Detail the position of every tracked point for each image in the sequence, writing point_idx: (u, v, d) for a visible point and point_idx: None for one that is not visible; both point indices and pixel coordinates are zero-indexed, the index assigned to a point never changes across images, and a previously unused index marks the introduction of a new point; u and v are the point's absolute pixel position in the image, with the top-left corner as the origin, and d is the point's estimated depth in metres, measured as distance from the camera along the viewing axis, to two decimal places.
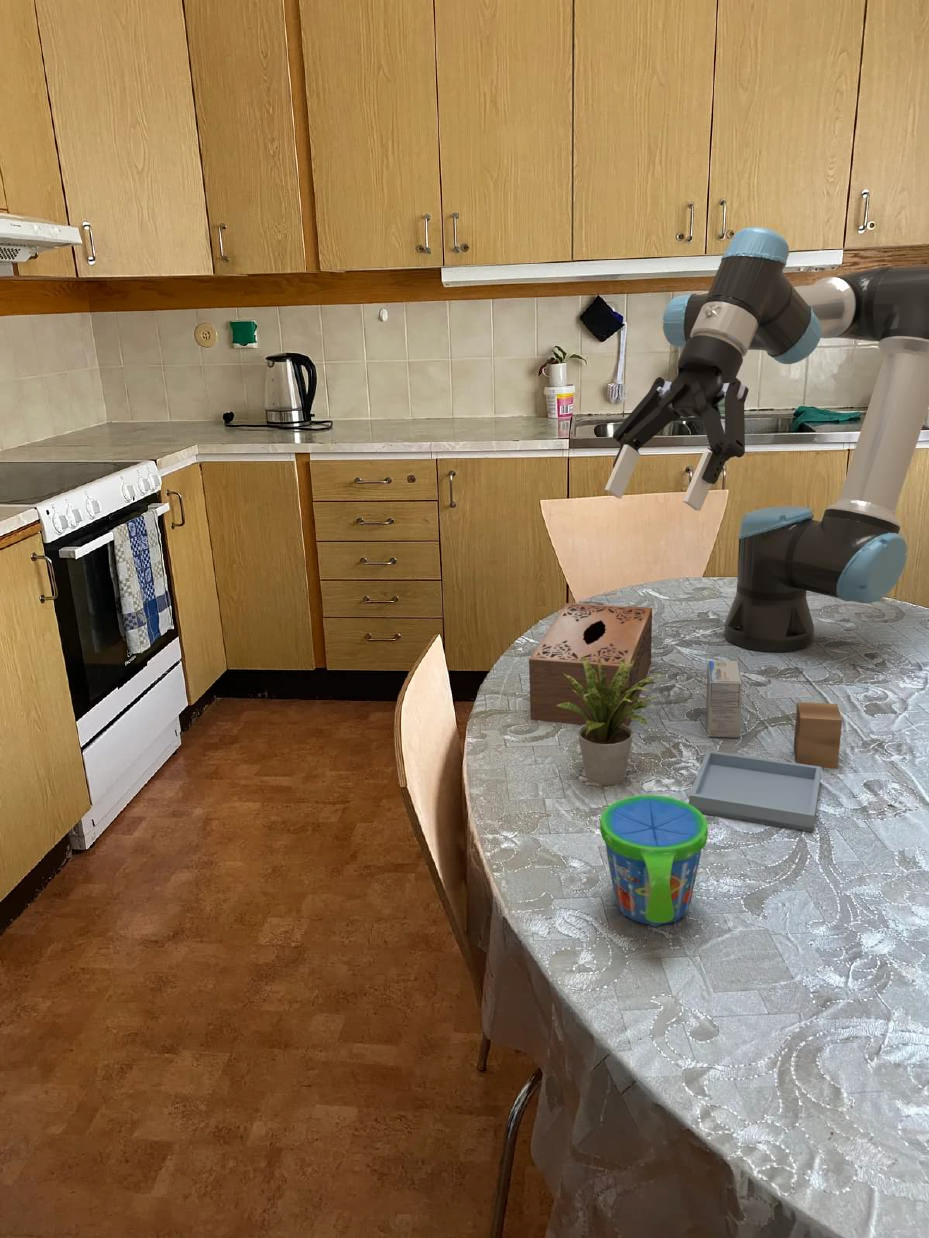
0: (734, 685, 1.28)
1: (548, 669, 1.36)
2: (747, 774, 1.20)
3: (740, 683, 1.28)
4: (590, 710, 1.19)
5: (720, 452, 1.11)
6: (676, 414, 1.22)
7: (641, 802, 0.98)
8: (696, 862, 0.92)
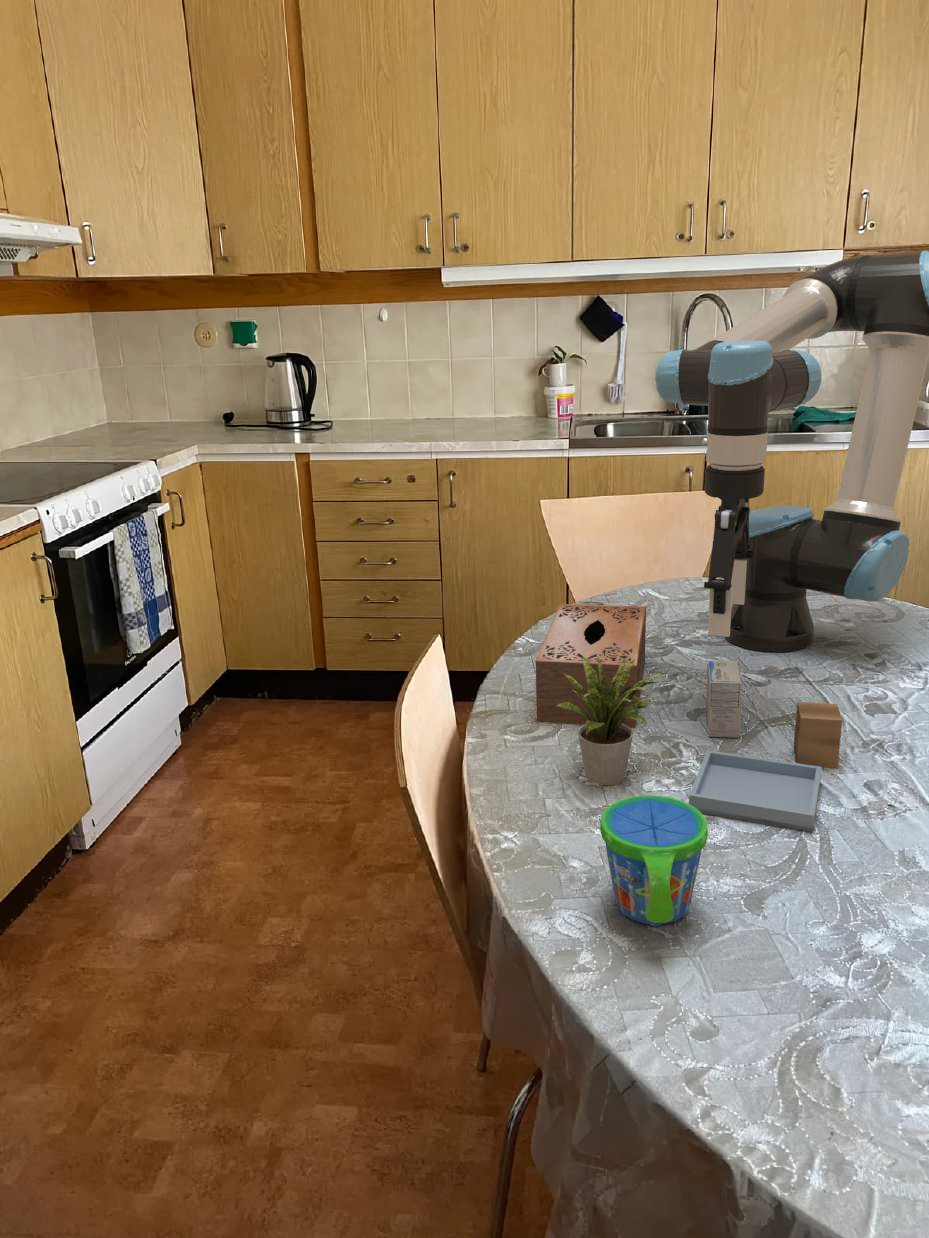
0: (733, 685, 1.28)
1: (555, 671, 1.35)
2: (747, 774, 1.20)
3: (740, 683, 1.28)
4: (590, 710, 1.19)
5: (713, 588, 1.20)
6: None
7: (641, 802, 0.98)
8: (696, 862, 0.92)
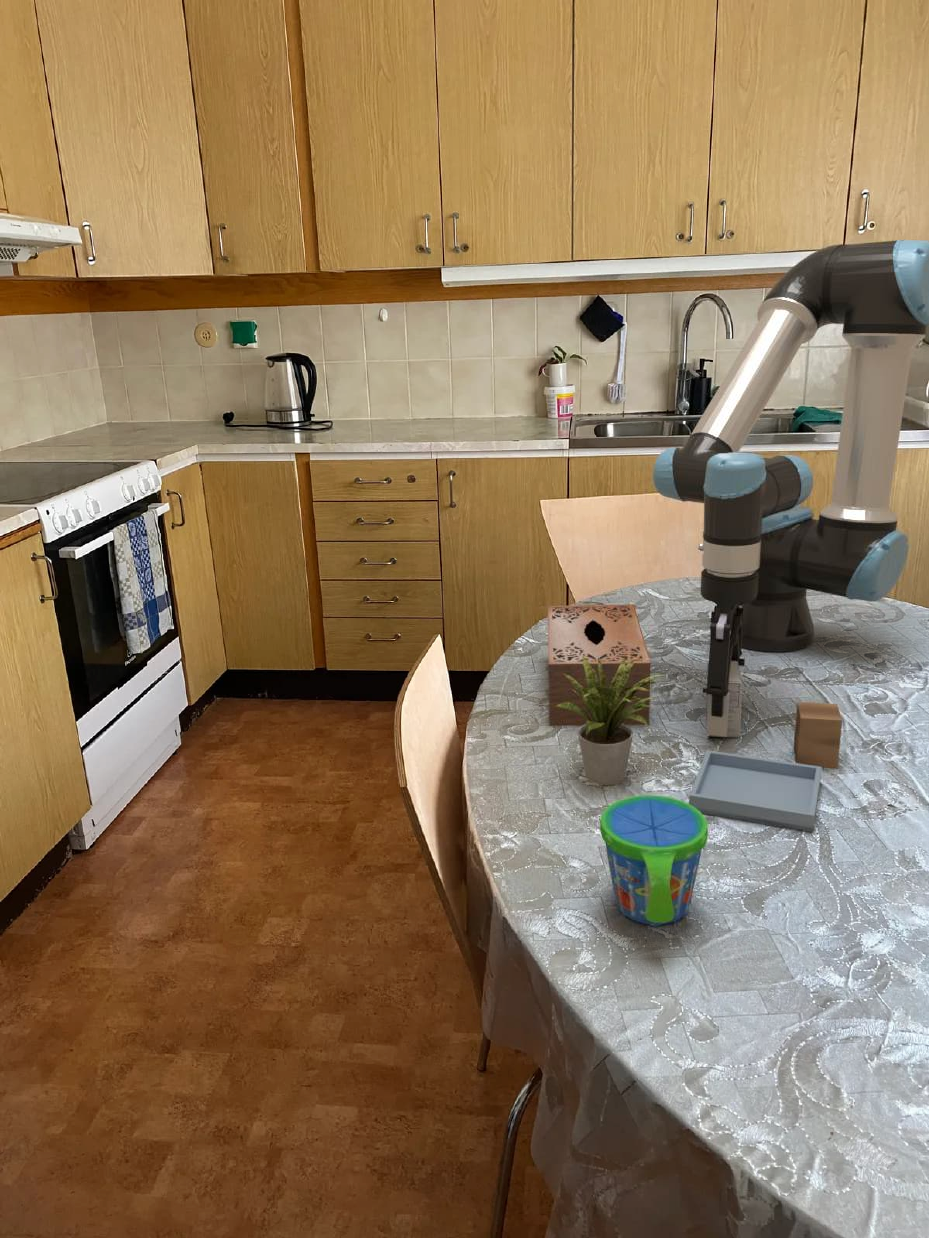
0: (733, 685, 1.28)
1: (569, 673, 1.35)
2: (747, 774, 1.20)
3: (740, 683, 1.28)
4: (590, 710, 1.19)
5: None
6: None
7: (641, 802, 0.98)
8: (696, 862, 0.92)
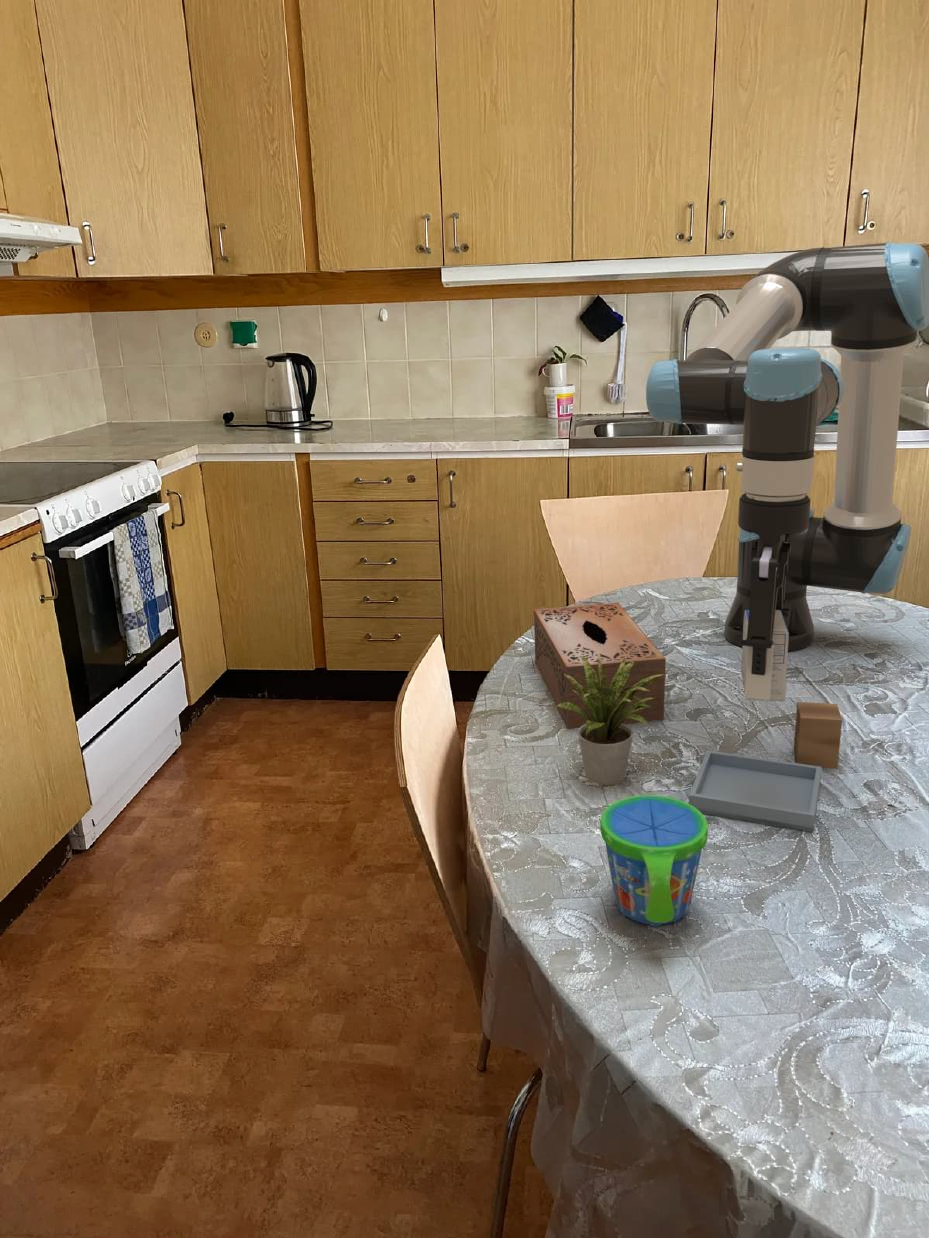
0: (778, 636, 1.05)
1: None
2: (747, 774, 1.20)
3: (786, 633, 1.05)
4: (590, 710, 1.19)
5: None
6: None
7: (641, 802, 0.98)
8: (696, 862, 0.92)
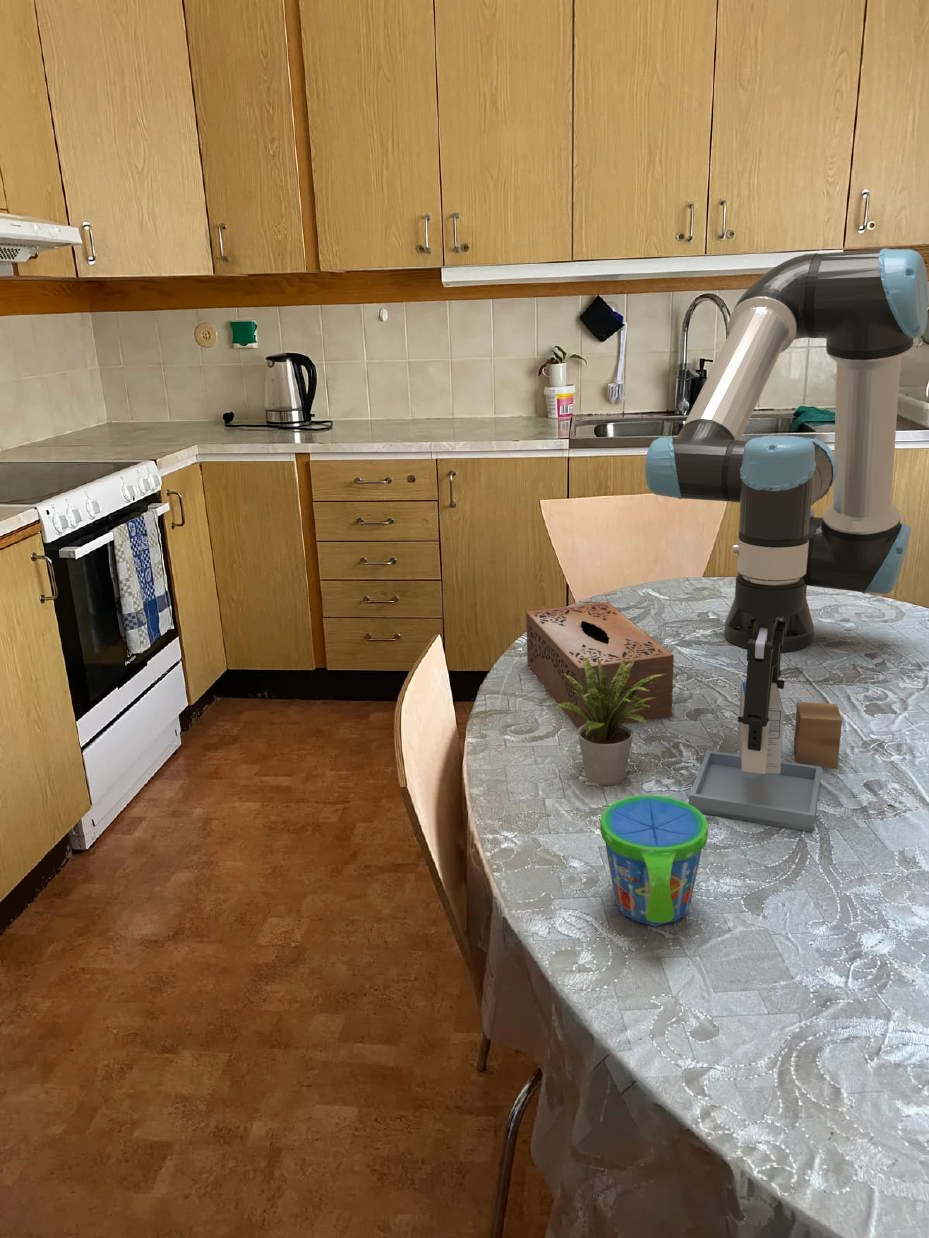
0: (774, 712, 1.08)
1: (598, 674, 1.34)
2: (747, 774, 1.20)
3: (781, 710, 1.08)
4: (590, 710, 1.19)
5: None
6: None
7: (641, 802, 0.98)
8: (696, 862, 0.92)
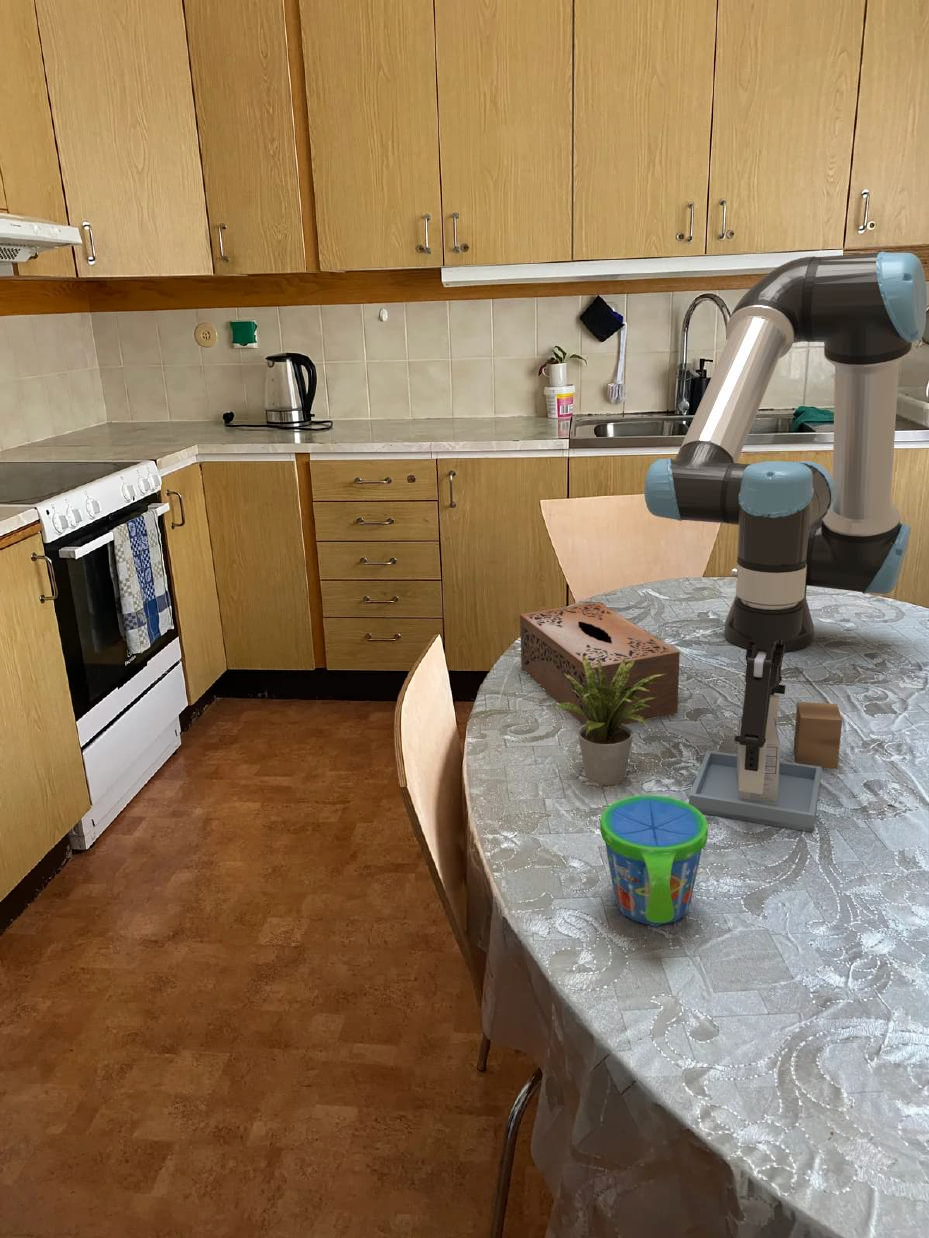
0: (770, 748, 1.10)
1: (608, 674, 1.33)
2: None
3: (778, 746, 1.09)
4: (590, 710, 1.19)
5: None
6: None
7: (641, 802, 0.98)
8: (696, 862, 0.92)
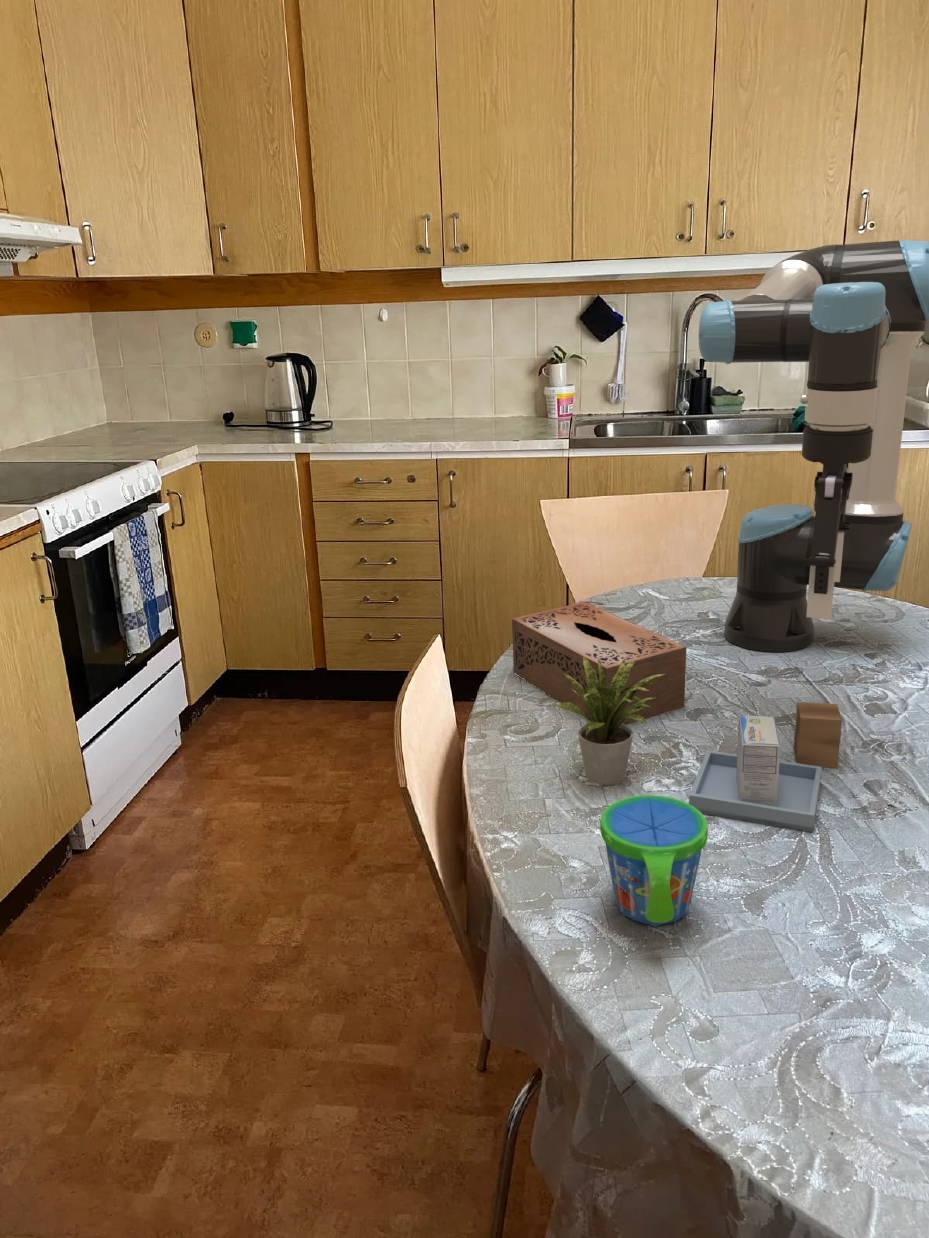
0: (770, 748, 1.10)
1: None
2: None
3: (778, 746, 1.09)
4: (590, 710, 1.19)
5: (815, 565, 1.07)
6: None
7: (641, 802, 0.98)
8: (696, 862, 0.92)
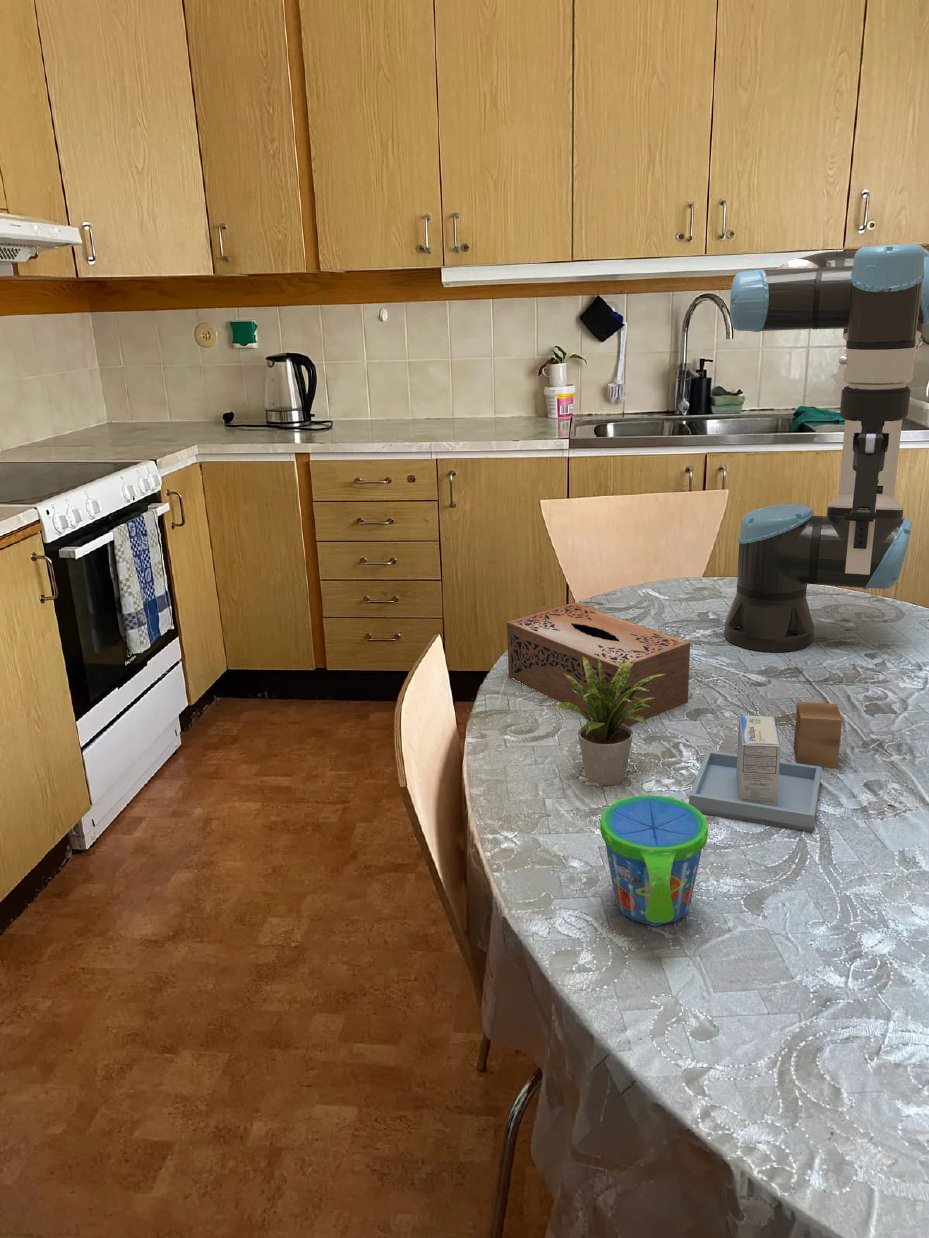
0: (770, 748, 1.10)
1: (635, 671, 1.34)
2: None
3: (778, 746, 1.09)
4: (590, 710, 1.19)
5: (855, 519, 1.09)
6: None
7: (641, 802, 0.98)
8: (696, 862, 0.92)
